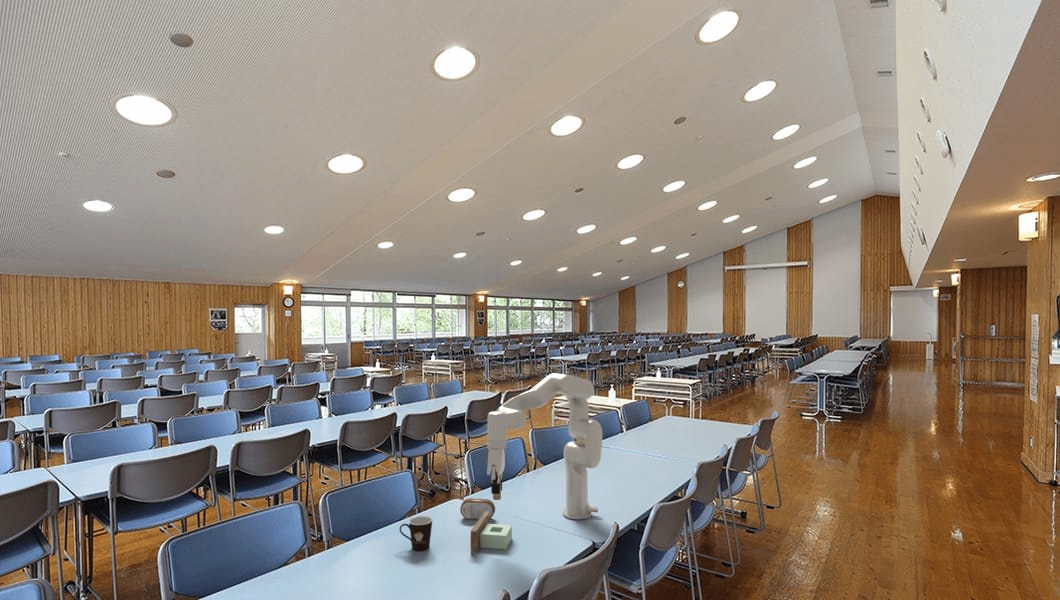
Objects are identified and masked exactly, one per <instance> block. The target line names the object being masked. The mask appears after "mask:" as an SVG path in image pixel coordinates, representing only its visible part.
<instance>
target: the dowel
mask: <svg viewBox="0 0 1060 600" xmlns="http://www.w3.org/2000/svg"><path fill="white" fill-rule="evenodd" d="M496 475H497V474H496ZM496 478H497V477H496ZM499 483H500V494H492V499H493V500H494V501H499V500H501V498H502V493H501V492H502V491H501V475H499Z"/></svg>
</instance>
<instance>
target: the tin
mask: <svg viewBox="0 0 1060 600" xmlns="http://www.w3.org/2000/svg"><path fill="white" fill-rule="evenodd" d="M485 511H489V512H490V519H492V517H493V516H494V515H495V512H496V506H495V503H494V502H493V501H492V500H491V499H487V498H466V499H465V500H463V501H462V503H461V505H460V511H459V512H460V514H461V516H462V517H463V518H464V519H466V520H475V521H478V520H479V519H480V517H481V516H482V515H483V513H484V512H485Z"/></svg>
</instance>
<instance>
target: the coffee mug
mask: <svg viewBox="0 0 1060 600" xmlns="http://www.w3.org/2000/svg"><path fill="white" fill-rule="evenodd" d="M408 522H409V524H407V523H402V524H401V525H400V526H399V532H400V534H401V535H402V536H403V537H405V538H406V539H408V540H409V541H410V542H411V549H412V550H413V551H414V552H415V551H416V552H423V551H427V550H428V549H430V546H431V545H430V543H431V537H432V527H433V518H432V517H431V516H427V515H426V516H425V515H420V516H415V517H412V518H411V519H409V521H408ZM404 526H407V527H408V529H409V533H410V537H409V535H408V536H407V534H405V533H404V532H403V531H402V527H404Z"/></svg>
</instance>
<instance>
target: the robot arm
mask: <svg viewBox="0 0 1060 600" xmlns="http://www.w3.org/2000/svg"><path fill="white" fill-rule="evenodd" d="M594 392H595V387H594V384H593V382H592V381H590V380H589V379H586V378H581V377H577V376H574V375H570V374H564V373H557V372H556V373H555V372H554V373H550V374H548V375H547V376H545V377H544V378H543V379H542V380H541V381H540V382H538V383H537V384H536V385H535V386H534V387H532V388H530V390H528V391H524V392H523V393H520V394H517V395H516V396H514V397H512V398H509V399H508V400H507V401H506V402H504V403H503V404H502V405H500V407H498V409H497V410H494V411H490V412H488V414H487V420H486V421H487V423H486V424H487V428H486V429H487V441H486V443H487V444H486V445H487V446H486V448H487V449H488V454H487V467H486V468H487V470H486V474H487V476H488V477H489V476H490V475H491V478H490V479H491V494H492V495H493V494H500V483H499V475H501V492H502V490H503V472H504V470H505V466H506V464H505V463H506V461H505V460H506V459H505V458H506V457H505V455H506V453H505V449H507V446H508V443H507V441H508V437H507V435H508V430H520V429H523V428H524V427H525V426H526V424H527V415H526V413H524V412H525V411H530V410H531V411H532V410H535V409H536V410H537V409H540V408H543V407H544V406H545V405H546V404H547V403H548V402H551V400H552V399H553V398H554V397H556V396H557V395H562V396H564V397H565V398H566V399H567V403H568V405H569V418H568V434H569V436H570V437H572V438H574V439H577V440H580V441H584V442H580V441H573V440H572V441H569V442H567V443H566V444H565V446H564V448H563V458H564V459H563V460H564V464H565V495H566V496H565V497H566V498H565V499H566V500H565V501H566V502H565V504H566V505H565V509H563V510H562V516H564V518H567V519H571V520H577V521H578V520H586V519H588V518H590V517H592V513H599V507H596V506H595V505H592V506H591V505H590V503H589V501H588V498H589V495H588V493H589V492H588V491H589V488H588V487H589V486H588V484H589V483H588V482H589V481H588V480H589V479H588V477H589V476H588V475H589V474H588V470H587V469H594V468H597V467H598V466H599V464H600V462H601V460H602V450H603V449H602V447H603V429H602V426H601V424H600V422H599V421H597V420H595V419H592V418H589V416H590V415H589V410H590V407H589V403H588V400H589V399H590V398H591V397H592V396H593V395H594ZM496 474H497V475H496ZM496 477H497V478H496Z"/></svg>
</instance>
